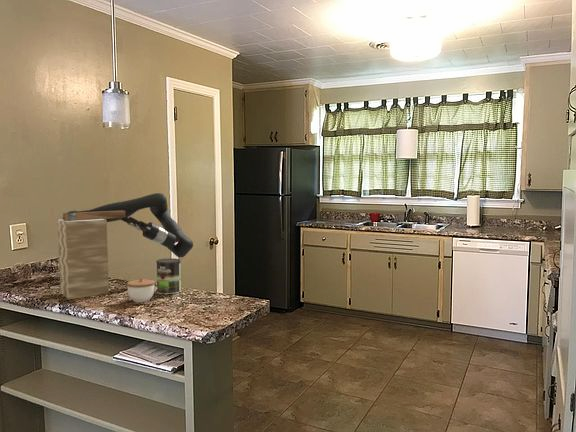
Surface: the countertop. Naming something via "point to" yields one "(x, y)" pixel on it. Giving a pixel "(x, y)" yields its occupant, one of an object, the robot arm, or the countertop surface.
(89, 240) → the stand
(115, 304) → the countertop surface
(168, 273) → the coffee can
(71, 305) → the countertop surface
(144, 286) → the lidded jar
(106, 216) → the tan wooden plank
